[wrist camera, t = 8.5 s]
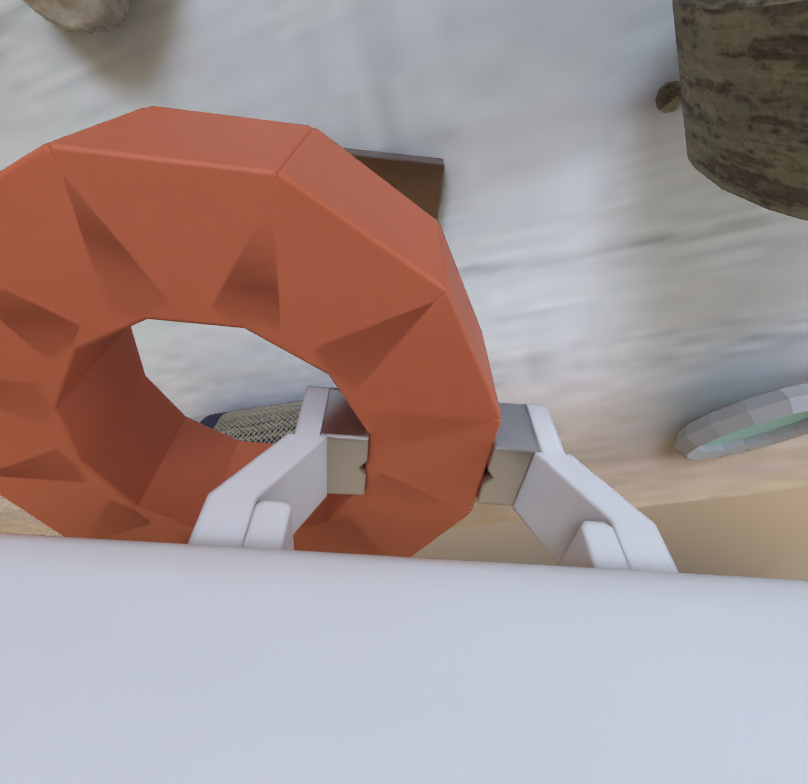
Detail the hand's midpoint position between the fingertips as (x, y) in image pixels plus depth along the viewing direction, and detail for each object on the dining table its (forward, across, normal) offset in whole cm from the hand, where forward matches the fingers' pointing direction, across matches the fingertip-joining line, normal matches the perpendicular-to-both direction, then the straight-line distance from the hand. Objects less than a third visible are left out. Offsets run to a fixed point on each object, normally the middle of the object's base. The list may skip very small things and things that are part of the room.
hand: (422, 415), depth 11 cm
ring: (+2, +4, 0) cm, 5 cm away
